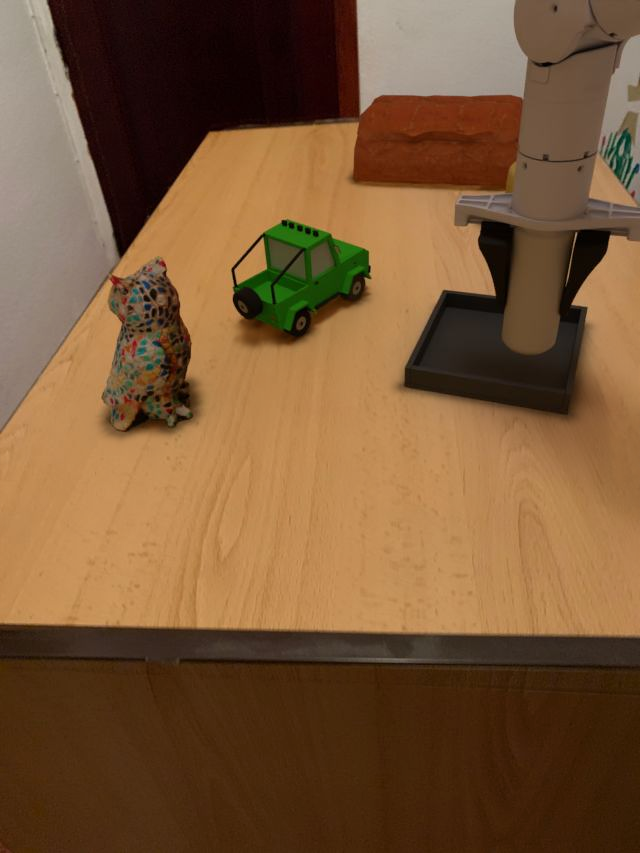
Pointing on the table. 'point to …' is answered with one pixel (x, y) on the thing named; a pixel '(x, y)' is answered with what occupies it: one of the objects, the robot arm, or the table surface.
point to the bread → (438, 139)
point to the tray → (493, 356)
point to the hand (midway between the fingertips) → (533, 306)
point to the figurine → (148, 350)
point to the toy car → (300, 276)
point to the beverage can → (536, 288)
